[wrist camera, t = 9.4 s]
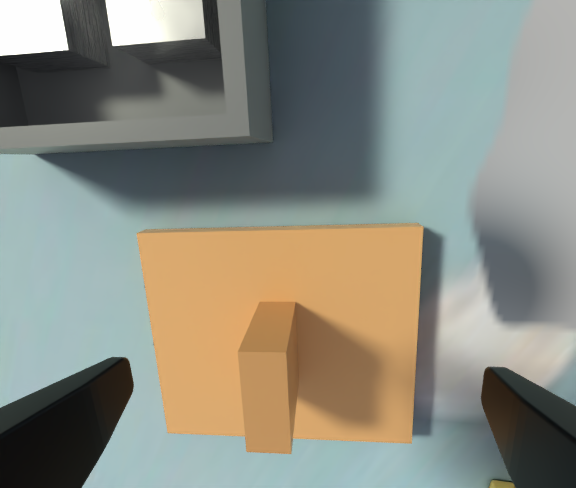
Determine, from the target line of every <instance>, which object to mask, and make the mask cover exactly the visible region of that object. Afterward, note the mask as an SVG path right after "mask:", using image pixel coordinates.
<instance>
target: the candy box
mask: <svg viewBox="0 0 576 488" xmlns="http://www.w3.org/2000/svg"><path fill="white" fill-rule="evenodd" d="M489 488H515V486H514V484H513V483H512V482H504V481H497V480H492V481H491V483H490V486H489Z"/></svg>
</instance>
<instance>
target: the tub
mask: <svg viewBox="0 0 576 488" xmlns="http://www.w3.org/2000/svg"><path fill="white" fill-rule="evenodd" d="M100 2H101V8H102V15H103V21H104V27H105V34H106V40H107V47H108V53H109V60H110V66H111V68H98V69H85V70H72V71H59V72H46V73H37V72H33V71H30V70H26V69H23V68H19V67H16V66H13V65H9V64H6V63H2V62H0V154H50V153H70V152H90V151H110V150H130V149H150V148H170V147H190V146H210V145H231V144H251V143H271V142H273V131H272V111H271V92H270V73H269V53H268V34H267V15H266V0H217V6H218V18H219V31H220V43H221V55H222V59H213V60H201V61H188V62H175V63H162V64H149V65H148V64H146V63H144V62H142V61H140V60H138V59H136V58H135V57H133V56H131V55H129V54H127V53H125V52H123V51H121V50H119V49H117V48H115V47H114V46H112V39H111V32H110V26H109V19H108V13H107V6H106V0H100Z"/></svg>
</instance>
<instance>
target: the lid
mask: <svg viewBox="0 0 576 488" xmlns="http://www.w3.org/2000/svg"><path fill="white" fill-rule="evenodd" d="M137 239H138V245H139V251H140V258H141V264H142V271H143V277H144V284H145V290H146V296H147V303H148V309H149V316H150V322H151V329H152V335H153V341H154V348H155V354H156V361H157V367H158V374H159V380H160V386H161V393H162V399H163V406H164V412H165V419H166V425H167V431H168V433H178V434H202V435H225V436H245V440H246V451H247V452H260V453H281V454H291V452H292V442H293V438H295V439H318V440H341V441H365V442H388V443H411V444H412V427H413V409H414V391H415V372H416V354H417V335H418V317H419V299H420V280H421V262H422V243H423V226H422V225H420V224H419V223H397V224H355V225H312V226H270V227H227V228H185V229H146V230H143V231H141V232H138V233H137Z"/></svg>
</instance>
